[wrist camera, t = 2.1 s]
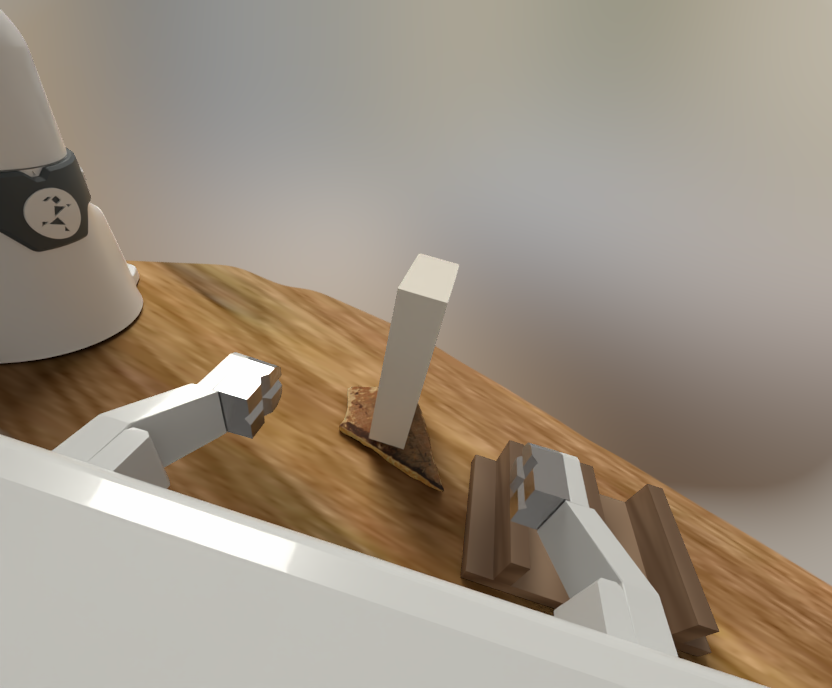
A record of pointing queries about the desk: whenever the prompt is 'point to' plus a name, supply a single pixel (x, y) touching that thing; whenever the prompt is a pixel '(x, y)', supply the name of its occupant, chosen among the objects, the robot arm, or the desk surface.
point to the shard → (409, 460)
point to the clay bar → (411, 346)
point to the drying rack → (628, 521)
